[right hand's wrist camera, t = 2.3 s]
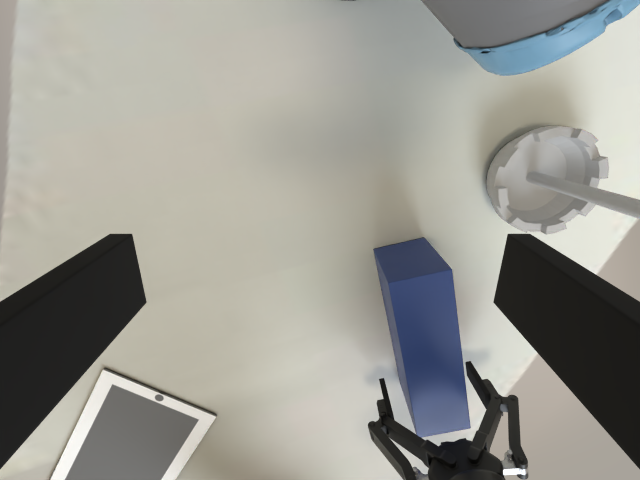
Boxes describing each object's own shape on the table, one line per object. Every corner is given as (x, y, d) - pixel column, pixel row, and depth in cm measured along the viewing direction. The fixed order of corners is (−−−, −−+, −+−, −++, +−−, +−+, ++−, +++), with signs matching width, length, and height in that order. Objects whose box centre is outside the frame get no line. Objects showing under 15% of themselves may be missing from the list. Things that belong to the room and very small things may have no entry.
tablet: (148, 519, 70) (147, 522, 69) (47, 485, 66) (45, 487, 66) (216, 414, 60) (216, 416, 60) (103, 367, 57) (102, 369, 56)
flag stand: (460, 169, 46) (687, 258, 18) (549, 102, 44) (979, 86, 15) (507, 239, 50) (758, 405, 22) (592, 182, 47) (1004, 286, 19)
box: (373, 248, 50) (387, 283, 40) (424, 237, 50) (452, 269, 40) (400, 382, 59) (417, 438, 49) (443, 373, 58) (470, 428, 48)
